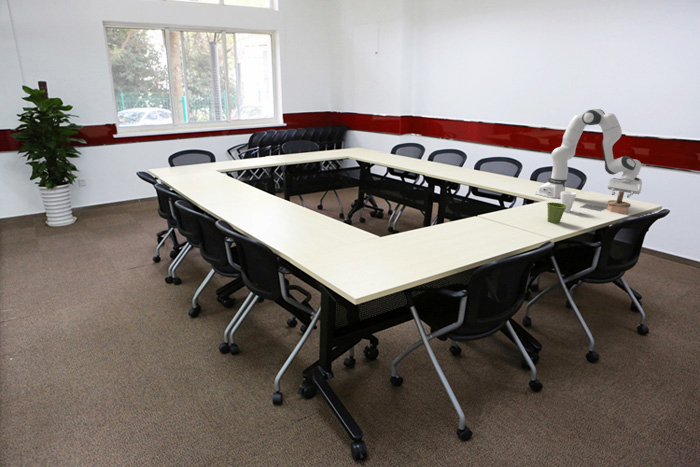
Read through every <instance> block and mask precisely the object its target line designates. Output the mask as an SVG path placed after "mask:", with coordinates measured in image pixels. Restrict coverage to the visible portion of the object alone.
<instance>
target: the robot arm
mask: <svg viewBox="0 0 700 467" xmlns="http://www.w3.org/2000/svg"><path fill="white" fill-rule="evenodd" d="M595 125H596V126H597V125H599V126H600V128H601V130H602V135H603V139H602V142H601V146H602V153H603V159H604V169H605V172H607V173H608V174H609V175H616V174H618V173H621V172H622V175H621V178H616V177H613V178H611V179H610V180H609V183H608V184H607V189H608V190H611V191H612V193H611V195H612V196H615V194H616V191H617V192H619V191H621V192H624V193H627V195H626V197H627V198H629V199H630V197H631V196H633V195H634V194H635V195H639V194H640V193H641V192H642V184H643V181H642V179H641V178H639V177H638V175H640V174H639V173H640V172H641V168H642V163H641V161H640V160H638V159H634V158H631V157H630V156H627V155H624V156H621V157H618V158H614V153H613V146H614V144H616V142H618V140H620V138H621V137H622V134H623V131H622V127H621V124H620V123H619V120H618V117H617V116H616V115H615V114H614V113H611V112H610V113H608V112H607V113H605V111H604V110H602V109H601V108H600V109H599V108H593V109H588V110H586V111H585V112H583V113H582V114H580V113H579V114H576V115H574V116H573V117H572V119H571V120H570V122H569V123H568V125H567V127H566V129H565V131H564V133H563V136H562V143H561V145H560V146H558V147H556V148H554V150H552V152H551V154H550V155H551V159H552V172H551V176H550V177H549V178H548V179H547V182H545V183H543V184H541V185H540V186H539V188H538V189H537V190H536V191H535V192H534V194H535V195H539V196H543V197H546V198H551V199H561V192H562V191H566V187H567V183H568V174H569V167H568V166H569V165H568V161H569V160H571V159H572V158H573V157H574V156H575V155H576V148H577V145H578V143H579V140H580V138H581V135H582V134H583V132H584V130H585V128H586V127H587V126H595Z"/></svg>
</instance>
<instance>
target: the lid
mask: <svg viewBox="0 0 700 467" xmlns="http://www.w3.org/2000/svg"><path fill="white" fill-rule="evenodd" d="M624 194H625V192H622V191H618V194H617V199H616V200H612V199H608V200H607V202H606V203H607V205H608V204H609V205H612V206H617V207H629V208H630V207H631V203H630V202H627V201H623V199H624Z"/></svg>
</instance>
